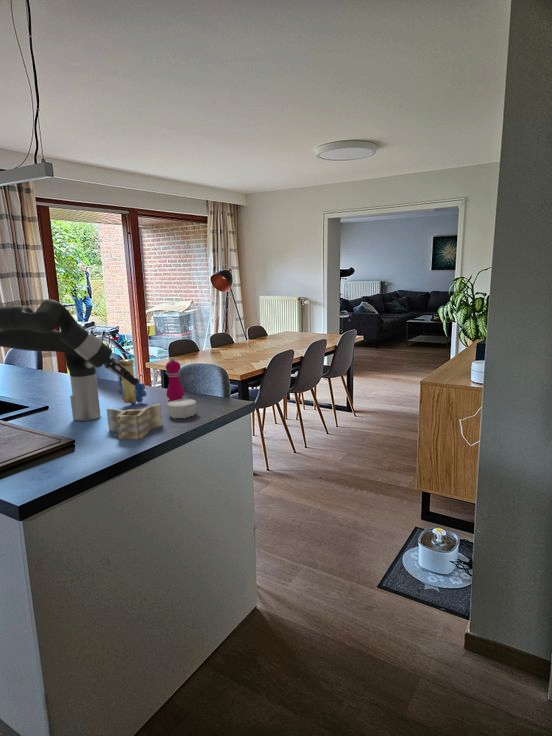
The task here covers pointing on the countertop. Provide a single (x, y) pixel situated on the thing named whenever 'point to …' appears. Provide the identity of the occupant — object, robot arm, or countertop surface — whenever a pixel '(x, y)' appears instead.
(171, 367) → the pepper mill
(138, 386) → the grapes
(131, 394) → the brass peg
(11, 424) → the countertop surface
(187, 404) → the ramekin
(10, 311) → the robot arm
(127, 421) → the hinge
